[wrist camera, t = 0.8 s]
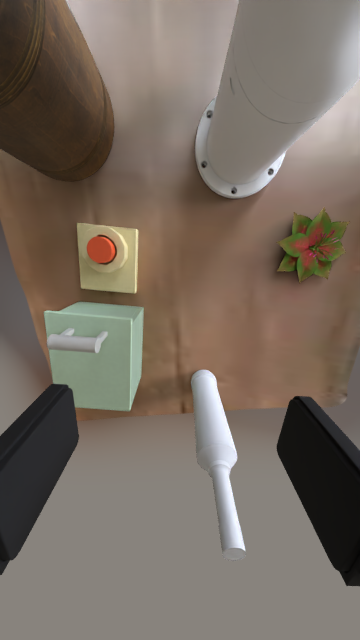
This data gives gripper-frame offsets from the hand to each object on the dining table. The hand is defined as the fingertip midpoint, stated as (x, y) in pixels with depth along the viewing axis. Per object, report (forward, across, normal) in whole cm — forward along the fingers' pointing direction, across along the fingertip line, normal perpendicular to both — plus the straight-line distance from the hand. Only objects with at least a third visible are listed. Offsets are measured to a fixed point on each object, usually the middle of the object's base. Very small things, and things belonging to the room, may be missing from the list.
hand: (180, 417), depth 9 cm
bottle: (+28, -6, +18) cm, 34 cm away
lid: (+19, +12, +10) cm, 25 cm away
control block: (+28, +12, -5) cm, 31 cm away
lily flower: (+28, -21, -9) cm, 36 cm away
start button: (+25, +12, -6) cm, 28 cm away
